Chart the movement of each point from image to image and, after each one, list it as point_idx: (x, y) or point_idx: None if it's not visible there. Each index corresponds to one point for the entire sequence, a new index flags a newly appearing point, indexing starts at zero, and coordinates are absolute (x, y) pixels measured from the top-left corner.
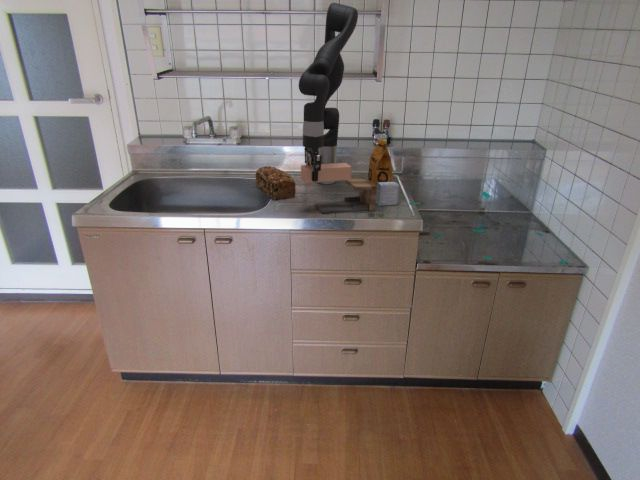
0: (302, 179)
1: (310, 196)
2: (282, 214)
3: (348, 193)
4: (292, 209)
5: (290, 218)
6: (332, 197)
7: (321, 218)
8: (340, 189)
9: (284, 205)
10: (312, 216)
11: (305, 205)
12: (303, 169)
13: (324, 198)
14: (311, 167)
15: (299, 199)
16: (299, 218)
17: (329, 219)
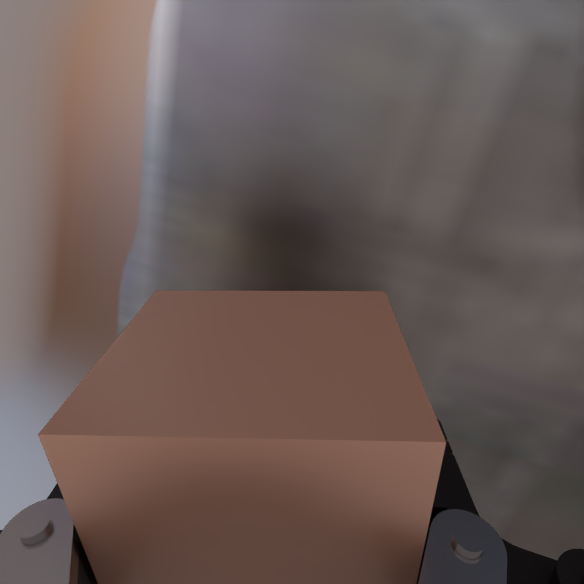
0: (310, 292)
1: (549, 320)
2: (252, 6)
3: (491, 505)
4: (341, 124)
5: (159, 58)
6: (467, 425)
7: (145, 272)
8: (573, 495)
9: (450, 77)
10: (183, 229)
11: (392, 241)
12: (234, 404)
13: (471, 384)
14: (212, 558)
15: (528, 233)
16: (154, 131)
17: (127, 309)
